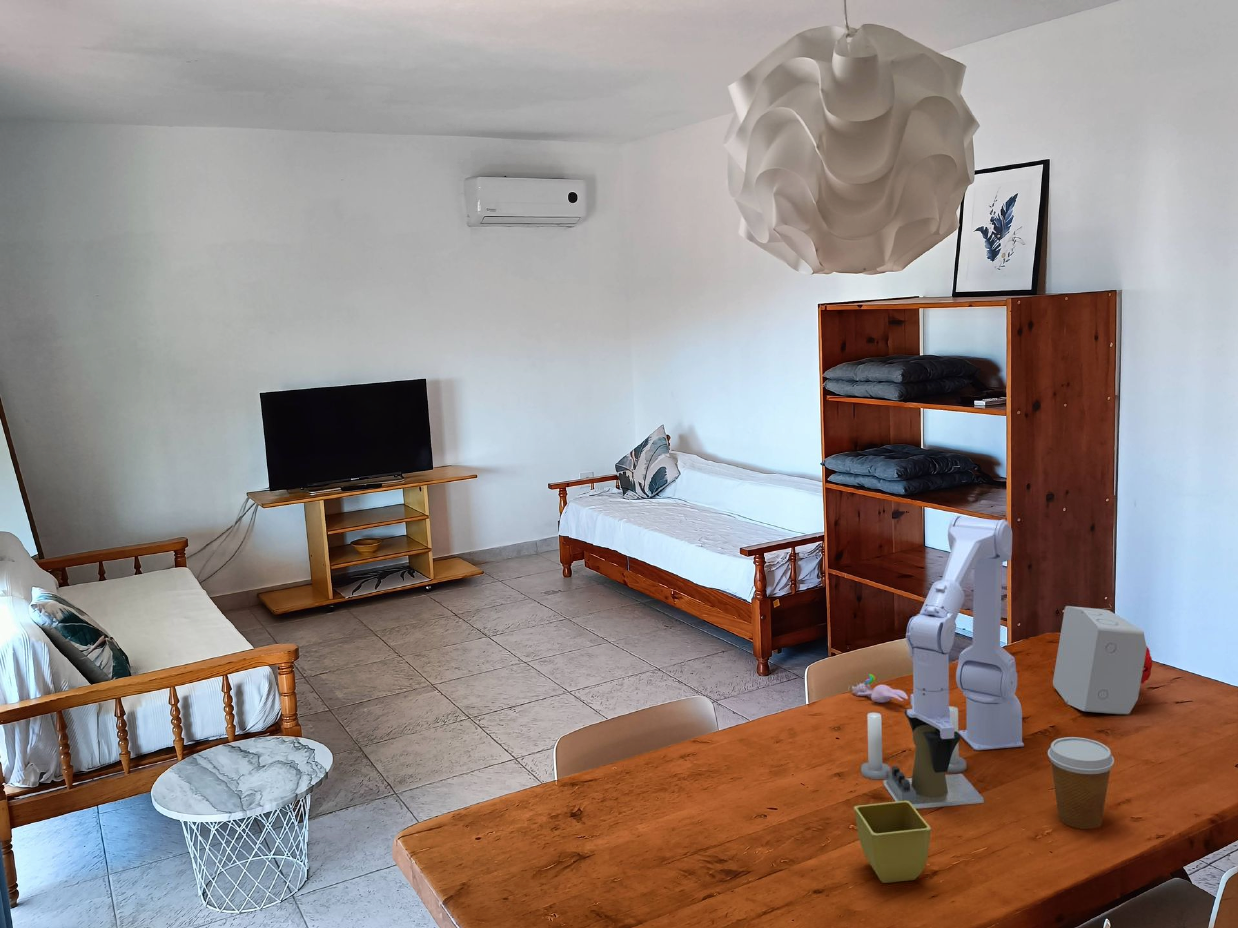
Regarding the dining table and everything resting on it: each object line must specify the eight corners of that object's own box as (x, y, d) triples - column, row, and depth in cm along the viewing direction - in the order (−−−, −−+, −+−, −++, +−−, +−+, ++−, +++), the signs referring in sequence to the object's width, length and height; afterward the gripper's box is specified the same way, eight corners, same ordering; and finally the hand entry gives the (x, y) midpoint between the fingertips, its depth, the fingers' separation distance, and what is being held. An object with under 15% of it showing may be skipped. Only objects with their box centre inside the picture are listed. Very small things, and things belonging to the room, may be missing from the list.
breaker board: (961, 777, 171) (961, 756, 171) (983, 802, 163) (983, 780, 162) (883, 784, 171) (883, 763, 170) (901, 809, 162) (901, 787, 161)
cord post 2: (959, 759, 178) (959, 702, 177) (970, 771, 174) (970, 713, 172) (932, 761, 178) (932, 704, 177) (943, 773, 173) (942, 715, 172)
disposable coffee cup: (1086, 841, 149) (1087, 767, 148) (1034, 814, 158) (1034, 745, 156) (1126, 823, 154) (1127, 751, 152) (1073, 798, 162) (1074, 730, 160)
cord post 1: (884, 765, 178) (883, 708, 176) (893, 778, 173) (892, 719, 171) (857, 767, 178) (856, 710, 176) (866, 780, 173) (864, 721, 171)
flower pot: (854, 859, 148) (852, 804, 147) (909, 853, 149) (908, 798, 148) (874, 893, 140) (872, 834, 138) (933, 886, 140) (932, 828, 139)
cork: (943, 780, 169) (942, 720, 168) (951, 797, 163) (950, 735, 162) (907, 780, 170) (906, 721, 168) (914, 797, 164) (913, 735, 162)
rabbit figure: (843, 701, 211) (895, 711, 199) (839, 674, 211) (891, 682, 199) (864, 694, 215) (916, 703, 202) (860, 667, 215) (912, 675, 202)
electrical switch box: (1157, 724, 193) (1175, 627, 190) (1083, 717, 193) (1099, 620, 190) (1121, 696, 207) (1136, 605, 204) (1051, 689, 207) (1066, 599, 204)
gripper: (893, 671, 171) (894, 744, 173) (923, 703, 156) (924, 782, 158) (932, 668, 171) (933, 741, 173) (966, 700, 157) (967, 779, 159)
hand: (932, 760), depth 166 cm, fingers open, 7 cm apart
